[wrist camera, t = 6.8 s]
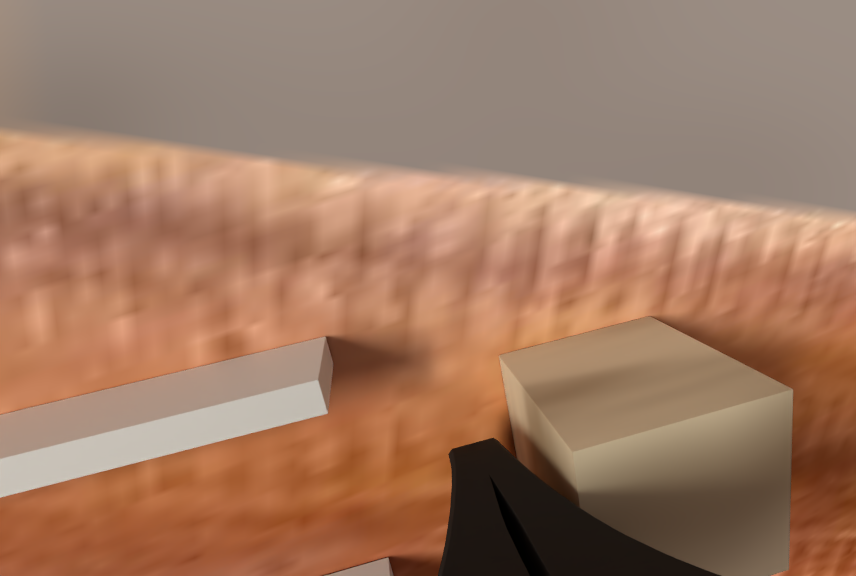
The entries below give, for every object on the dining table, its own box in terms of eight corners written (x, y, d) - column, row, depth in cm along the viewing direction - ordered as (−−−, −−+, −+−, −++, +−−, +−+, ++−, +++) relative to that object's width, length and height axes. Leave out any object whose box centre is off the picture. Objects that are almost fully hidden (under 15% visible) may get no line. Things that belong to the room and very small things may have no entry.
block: (658, 449, 14) (788, 569, 10) (522, 488, 14) (596, 632, 10) (649, 316, 13) (792, 389, 9) (498, 355, 13) (572, 452, 8)
